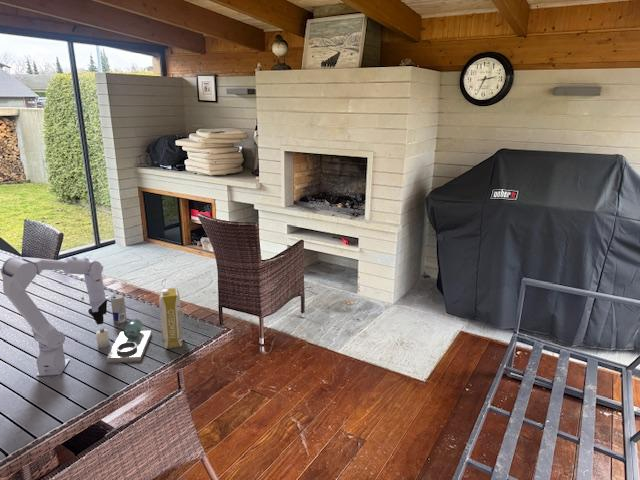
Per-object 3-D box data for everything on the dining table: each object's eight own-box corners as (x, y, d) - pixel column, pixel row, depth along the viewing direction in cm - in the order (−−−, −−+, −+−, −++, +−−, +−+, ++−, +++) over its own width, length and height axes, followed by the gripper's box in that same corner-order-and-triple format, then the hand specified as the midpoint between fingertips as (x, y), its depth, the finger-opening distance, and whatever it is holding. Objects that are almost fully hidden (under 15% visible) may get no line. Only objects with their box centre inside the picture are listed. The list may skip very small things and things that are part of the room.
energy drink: (114, 319, 198) (111, 294, 194) (126, 317, 200) (124, 293, 196) (113, 324, 193) (110, 299, 189) (126, 322, 195) (123, 298, 191)
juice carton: (162, 338, 183) (157, 286, 176) (182, 335, 186) (178, 283, 179) (163, 350, 175) (158, 295, 168) (184, 347, 178) (180, 293, 170)
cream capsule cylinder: (108, 347, 176) (106, 332, 174) (96, 348, 175) (94, 332, 173) (111, 341, 180) (109, 326, 178) (99, 342, 179) (97, 327, 177)
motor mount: (140, 361, 168) (138, 342, 165) (107, 362, 166) (104, 344, 163) (151, 334, 186) (149, 317, 184) (121, 336, 184) (119, 319, 182)
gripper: (103, 295, 165) (110, 326, 170) (109, 279, 178) (115, 308, 183) (83, 298, 164) (90, 329, 168) (90, 281, 177) (96, 310, 181)
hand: (101, 318), depth 176 cm, fingers open, 7 cm apart
